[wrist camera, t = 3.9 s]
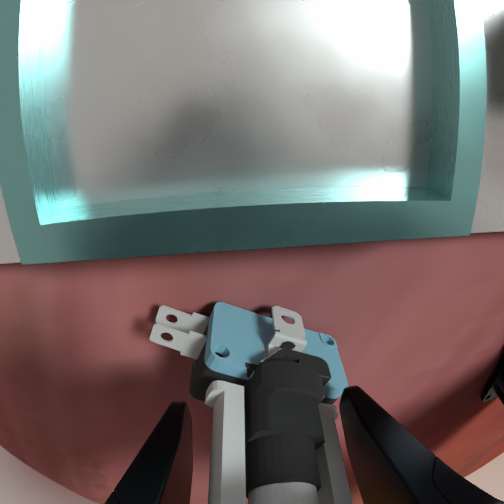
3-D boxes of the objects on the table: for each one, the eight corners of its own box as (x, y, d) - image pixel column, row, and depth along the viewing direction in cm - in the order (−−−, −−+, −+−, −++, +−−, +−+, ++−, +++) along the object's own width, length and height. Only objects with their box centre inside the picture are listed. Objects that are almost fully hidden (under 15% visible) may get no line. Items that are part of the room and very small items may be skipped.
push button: (145, 350, 12) (90, 604, 3) (184, 235, 10) (86, 641, 1) (296, 393, 13) (326, 613, 4) (367, 302, 11) (475, 580, 2)
